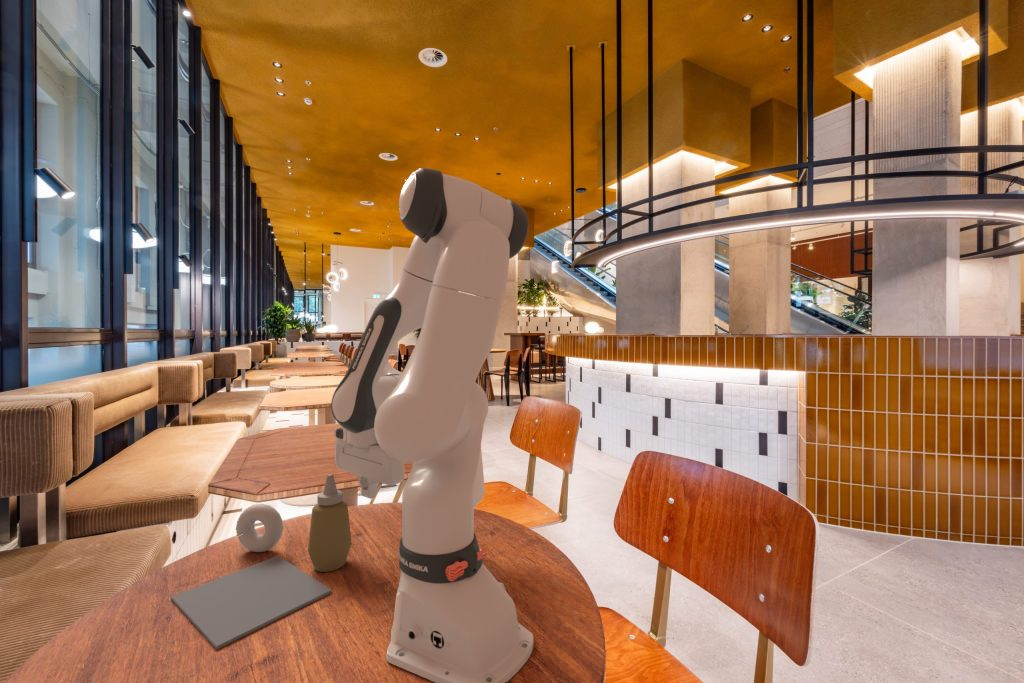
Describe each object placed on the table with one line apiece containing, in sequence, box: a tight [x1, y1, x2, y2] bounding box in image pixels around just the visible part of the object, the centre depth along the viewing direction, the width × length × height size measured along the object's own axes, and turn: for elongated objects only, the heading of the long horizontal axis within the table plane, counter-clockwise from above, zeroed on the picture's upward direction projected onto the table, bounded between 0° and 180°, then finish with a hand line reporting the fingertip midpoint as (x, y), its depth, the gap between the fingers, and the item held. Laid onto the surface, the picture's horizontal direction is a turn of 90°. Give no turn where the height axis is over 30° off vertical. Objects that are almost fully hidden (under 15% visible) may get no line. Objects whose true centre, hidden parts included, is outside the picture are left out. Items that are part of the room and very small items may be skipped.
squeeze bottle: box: [307, 473, 352, 573], centre depth 88 cm, size 8×8×18 cm
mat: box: [170, 555, 333, 650], centre depth 77 cm, size 20×18×1 cm
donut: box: [235, 503, 284, 553], centre depth 93 cm, size 10×4×10 cm, turn 83°
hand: (368, 496), depth 95 cm, fingers closed
